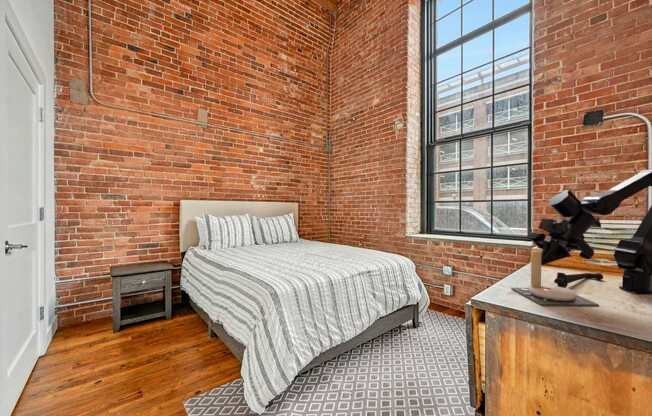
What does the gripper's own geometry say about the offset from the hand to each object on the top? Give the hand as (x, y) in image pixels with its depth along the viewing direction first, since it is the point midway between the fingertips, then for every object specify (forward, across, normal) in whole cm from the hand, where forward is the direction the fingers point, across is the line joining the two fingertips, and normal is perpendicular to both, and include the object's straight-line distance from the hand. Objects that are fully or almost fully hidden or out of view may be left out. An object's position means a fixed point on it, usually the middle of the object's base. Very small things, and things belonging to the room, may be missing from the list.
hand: (540, 263), depth 93 cm
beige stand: (+6, +4, +7) cm, 10 cm away
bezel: (+6, +4, +7) cm, 10 cm away
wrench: (-7, -6, +20) cm, 22 cm away
